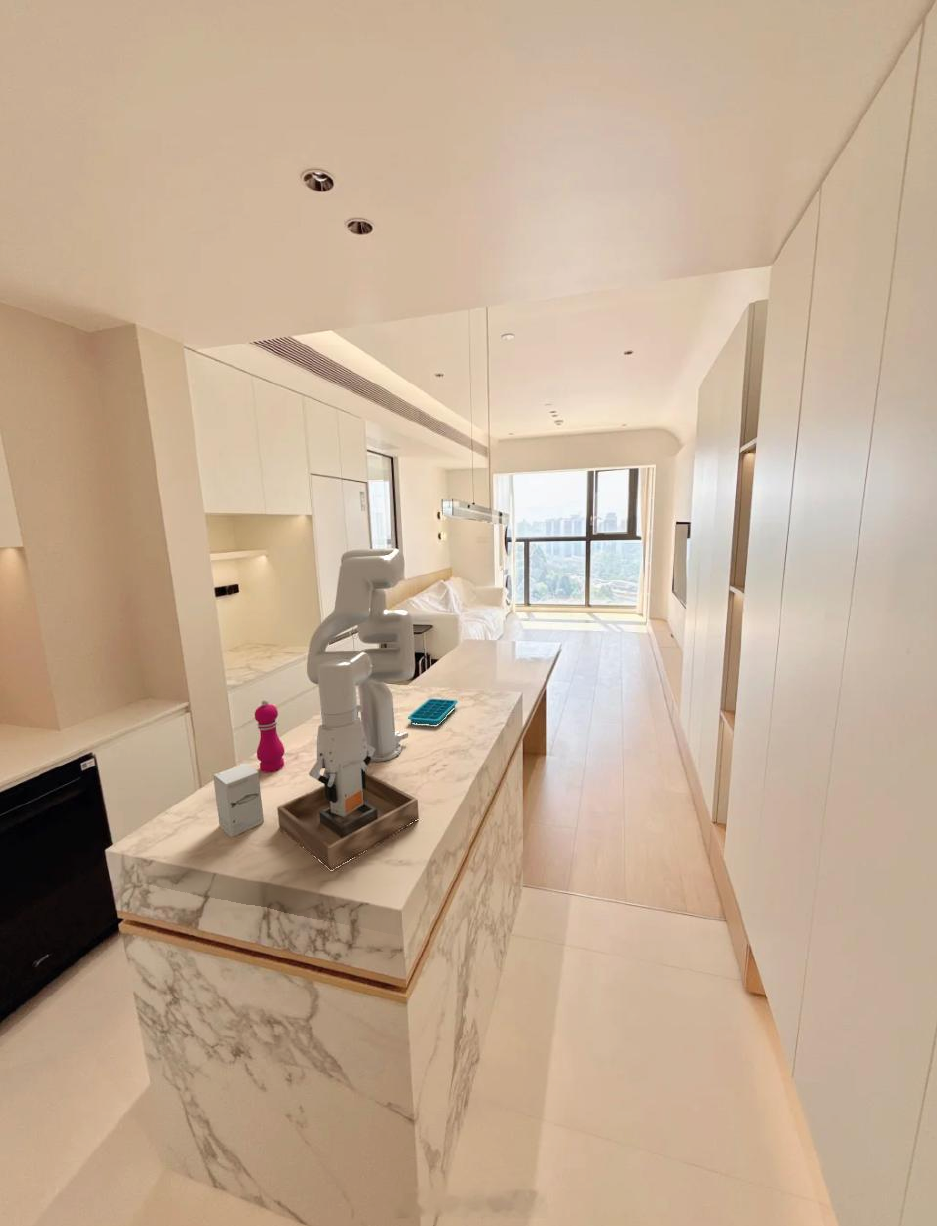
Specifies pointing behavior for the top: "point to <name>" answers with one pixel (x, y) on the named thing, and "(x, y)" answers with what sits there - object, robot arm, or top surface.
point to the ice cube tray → (432, 711)
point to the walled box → (347, 821)
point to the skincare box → (347, 789)
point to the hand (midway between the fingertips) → (346, 792)
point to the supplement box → (238, 799)
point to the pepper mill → (269, 738)
